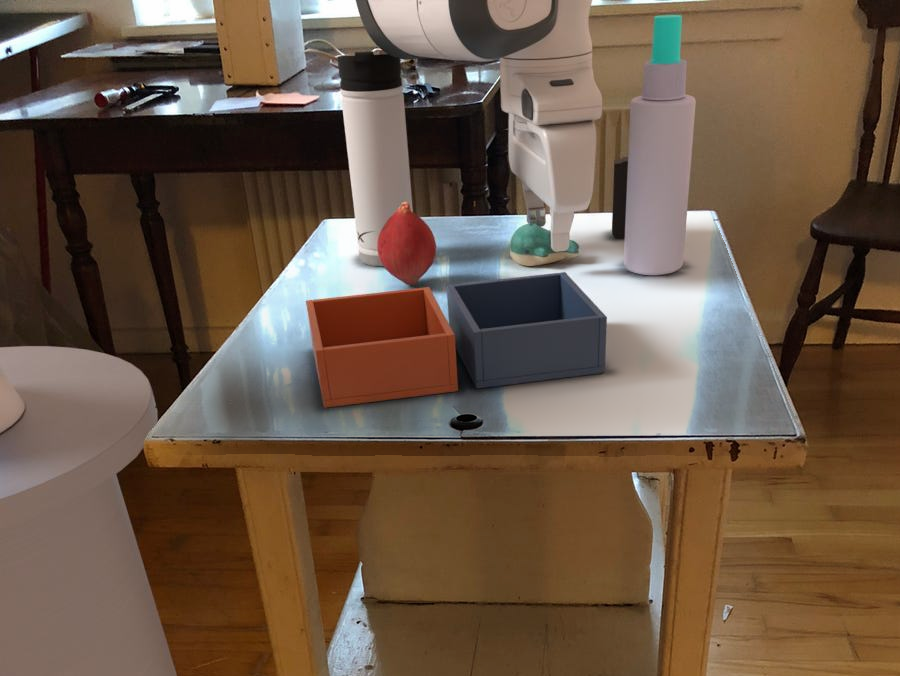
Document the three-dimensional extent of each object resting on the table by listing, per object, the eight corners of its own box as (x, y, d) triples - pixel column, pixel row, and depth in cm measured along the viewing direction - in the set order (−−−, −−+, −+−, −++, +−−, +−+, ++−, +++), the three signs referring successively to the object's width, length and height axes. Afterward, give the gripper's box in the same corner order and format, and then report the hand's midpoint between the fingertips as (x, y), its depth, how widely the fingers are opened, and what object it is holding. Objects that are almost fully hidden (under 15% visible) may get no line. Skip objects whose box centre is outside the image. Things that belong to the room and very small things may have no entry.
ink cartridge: (655, 232, 111) (660, 155, 106) (656, 237, 109) (661, 160, 104) (611, 233, 112) (614, 156, 107) (611, 238, 110) (614, 161, 105)
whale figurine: (513, 253, 107) (512, 217, 104) (580, 253, 106) (580, 216, 104) (507, 270, 102) (506, 232, 100) (577, 269, 101) (578, 231, 99)
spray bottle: (627, 278, 98) (639, 21, 85) (620, 260, 103) (629, 15, 90) (687, 275, 98) (708, 17, 85) (677, 257, 103) (695, 11, 90)
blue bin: (476, 389, 78) (473, 332, 75) (449, 336, 87) (446, 284, 85) (605, 372, 79) (607, 316, 76) (564, 323, 89) (565, 271, 86)
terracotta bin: (324, 408, 76) (315, 350, 73) (313, 352, 86) (305, 300, 83) (458, 391, 78) (454, 334, 75) (433, 338, 87) (429, 286, 84)
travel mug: (355, 269, 105) (330, 54, 93) (363, 251, 110) (341, 45, 98) (413, 267, 105) (395, 51, 92) (418, 249, 110) (402, 42, 98)
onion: (376, 294, 98) (367, 209, 93) (388, 276, 102) (380, 195, 97) (432, 294, 97) (426, 209, 92) (442, 276, 102) (437, 194, 97)
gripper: (491, 76, 102) (497, 215, 110) (539, 107, 86) (541, 268, 94) (550, 71, 103) (551, 210, 111) (608, 101, 87) (604, 260, 95)
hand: (547, 237), depth 103 cm, fingers open, 8 cm apart
